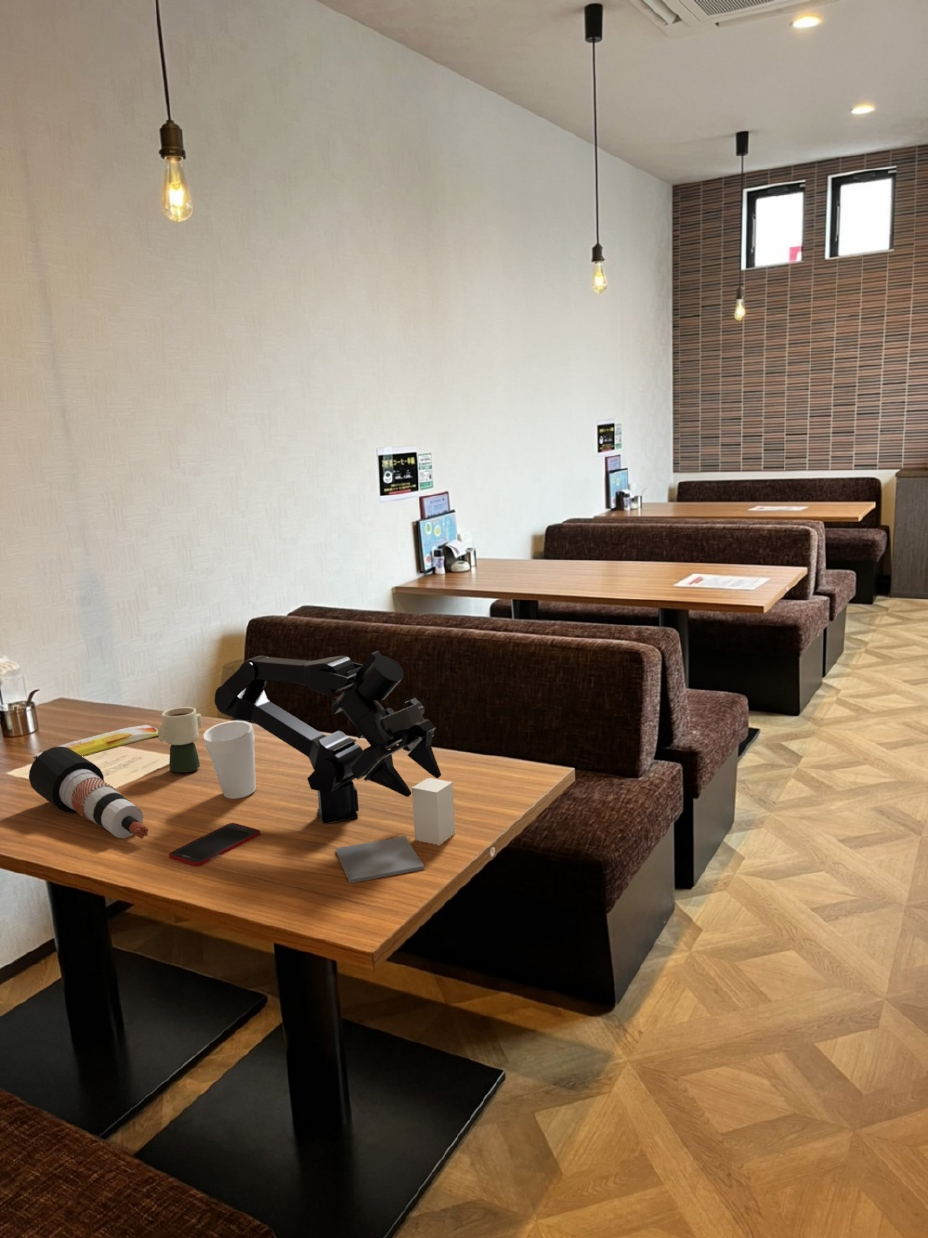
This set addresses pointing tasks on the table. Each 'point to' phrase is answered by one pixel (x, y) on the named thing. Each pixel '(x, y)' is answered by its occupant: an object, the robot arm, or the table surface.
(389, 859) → the slate coaster
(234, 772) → the foam cup
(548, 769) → the table surface
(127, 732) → the food package
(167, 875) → the table surface
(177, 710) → the character mug
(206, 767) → the table surface
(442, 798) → the cream block
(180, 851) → the cell phone
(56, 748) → the cable
